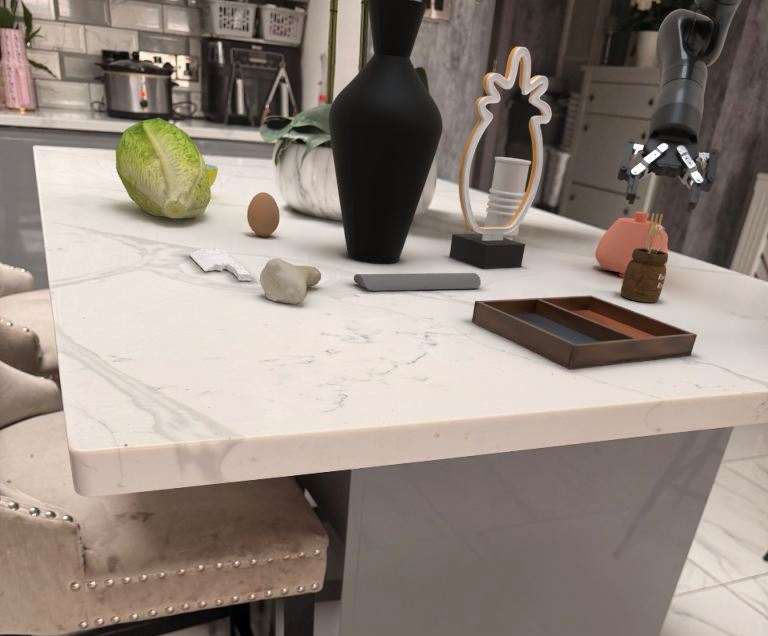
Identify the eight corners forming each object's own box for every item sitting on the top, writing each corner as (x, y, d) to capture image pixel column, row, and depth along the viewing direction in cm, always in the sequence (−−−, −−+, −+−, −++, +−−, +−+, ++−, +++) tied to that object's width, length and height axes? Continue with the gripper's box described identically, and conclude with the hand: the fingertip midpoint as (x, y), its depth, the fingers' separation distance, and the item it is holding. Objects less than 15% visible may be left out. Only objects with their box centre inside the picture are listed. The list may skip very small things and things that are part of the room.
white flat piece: (213, 281, 100) (213, 272, 99) (189, 255, 111) (189, 248, 111) (251, 280, 102) (251, 271, 101) (223, 255, 113) (223, 248, 113)
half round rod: (350, 283, 106) (351, 270, 105) (466, 282, 115) (468, 270, 114) (364, 291, 103) (365, 278, 102) (482, 289, 112) (484, 276, 111)
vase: (386, 245, 134) (410, 9, 117) (446, 268, 122) (482, 9, 105) (301, 247, 125) (313, -9, 108) (357, 272, 113) (381, -11, 96)
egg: (241, 235, 128) (241, 191, 125) (255, 231, 133) (256, 188, 130) (270, 240, 127) (271, 196, 124) (284, 236, 132) (285, 193, 128)
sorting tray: (586, 314, 105) (591, 295, 104) (690, 355, 92) (697, 334, 91) (471, 321, 96) (474, 300, 94) (570, 369, 83) (575, 345, 81)
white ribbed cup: (516, 248, 146) (531, 163, 138) (480, 243, 146) (493, 158, 139) (517, 242, 151) (532, 160, 144) (482, 238, 152) (495, 155, 145)
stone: (303, 308, 93) (305, 267, 90) (253, 302, 93) (253, 261, 91) (321, 288, 103) (322, 250, 100) (275, 282, 103) (276, 245, 101)
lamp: (503, 254, 138) (538, 52, 123) (537, 266, 132) (579, 54, 117) (431, 257, 129) (459, 39, 114) (464, 269, 123) (498, 40, 108)
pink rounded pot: (632, 265, 142) (646, 207, 137) (683, 284, 131) (702, 222, 126) (578, 264, 138) (591, 204, 133) (627, 284, 127) (644, 219, 122)
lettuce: (223, 250, 134) (129, 255, 130) (203, 184, 150) (118, 186, 145) (219, 166, 123) (116, 168, 119) (198, 104, 139) (106, 104, 134)
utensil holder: (621, 299, 116) (642, 216, 110) (617, 290, 121) (637, 210, 115) (660, 305, 115) (684, 221, 109) (655, 296, 120) (677, 216, 115)
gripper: (635, 95, 118) (617, 181, 113) (731, 106, 115) (717, 194, 111) (625, 132, 125) (608, 214, 120) (715, 143, 122) (701, 227, 118)
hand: (660, 204), depth 116 cm, fingers open, 8 cm apart
